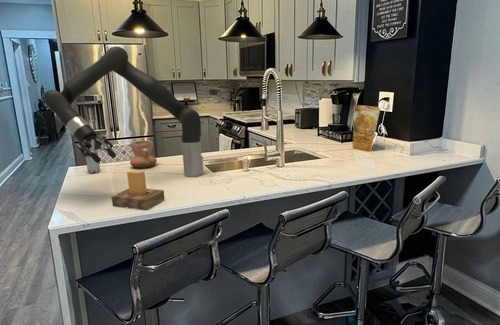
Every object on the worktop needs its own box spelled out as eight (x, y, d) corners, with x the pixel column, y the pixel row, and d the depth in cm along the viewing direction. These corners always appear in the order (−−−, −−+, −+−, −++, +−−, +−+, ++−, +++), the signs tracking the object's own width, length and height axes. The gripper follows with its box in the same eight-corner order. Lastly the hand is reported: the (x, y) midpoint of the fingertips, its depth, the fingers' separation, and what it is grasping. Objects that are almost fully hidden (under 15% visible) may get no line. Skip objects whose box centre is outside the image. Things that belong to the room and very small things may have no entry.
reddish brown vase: (160, 167, 195) (158, 142, 192) (134, 171, 188) (131, 145, 185) (152, 162, 210) (150, 138, 207) (127, 165, 203) (124, 141, 200)
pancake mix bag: (355, 146, 237) (357, 104, 230) (378, 151, 221) (381, 106, 214) (348, 147, 233) (350, 105, 227) (371, 152, 217) (373, 107, 211)
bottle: (90, 171, 192) (84, 135, 187) (102, 170, 192) (97, 134, 187) (85, 174, 185) (80, 137, 180) (98, 173, 186) (93, 136, 181)
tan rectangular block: (130, 203, 140) (126, 172, 137) (135, 200, 143) (131, 170, 140) (143, 204, 138) (139, 173, 135) (147, 202, 141) (144, 171, 138)
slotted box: (112, 205, 138) (111, 196, 137) (132, 196, 149) (131, 187, 148) (146, 210, 132) (145, 200, 131) (164, 199, 143) (163, 190, 142)
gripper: (71, 126, 134) (98, 157, 133) (98, 121, 147) (123, 149, 146) (62, 139, 137) (89, 169, 136) (90, 133, 150) (115, 161, 149)
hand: (107, 159), depth 141 cm, fingers open, 8 cm apart
